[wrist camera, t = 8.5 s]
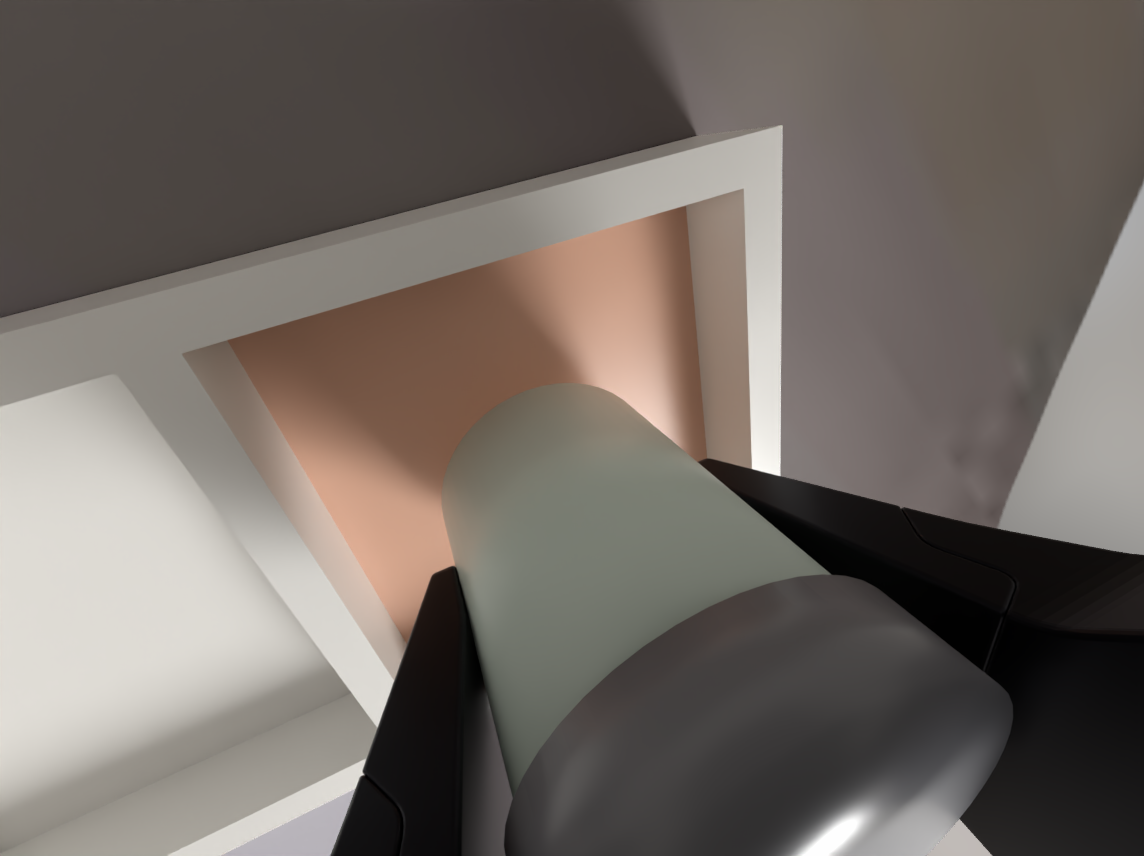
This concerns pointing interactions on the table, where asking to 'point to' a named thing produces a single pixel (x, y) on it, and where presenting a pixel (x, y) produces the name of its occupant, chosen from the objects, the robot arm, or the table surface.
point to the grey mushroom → (692, 657)
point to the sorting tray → (326, 472)
